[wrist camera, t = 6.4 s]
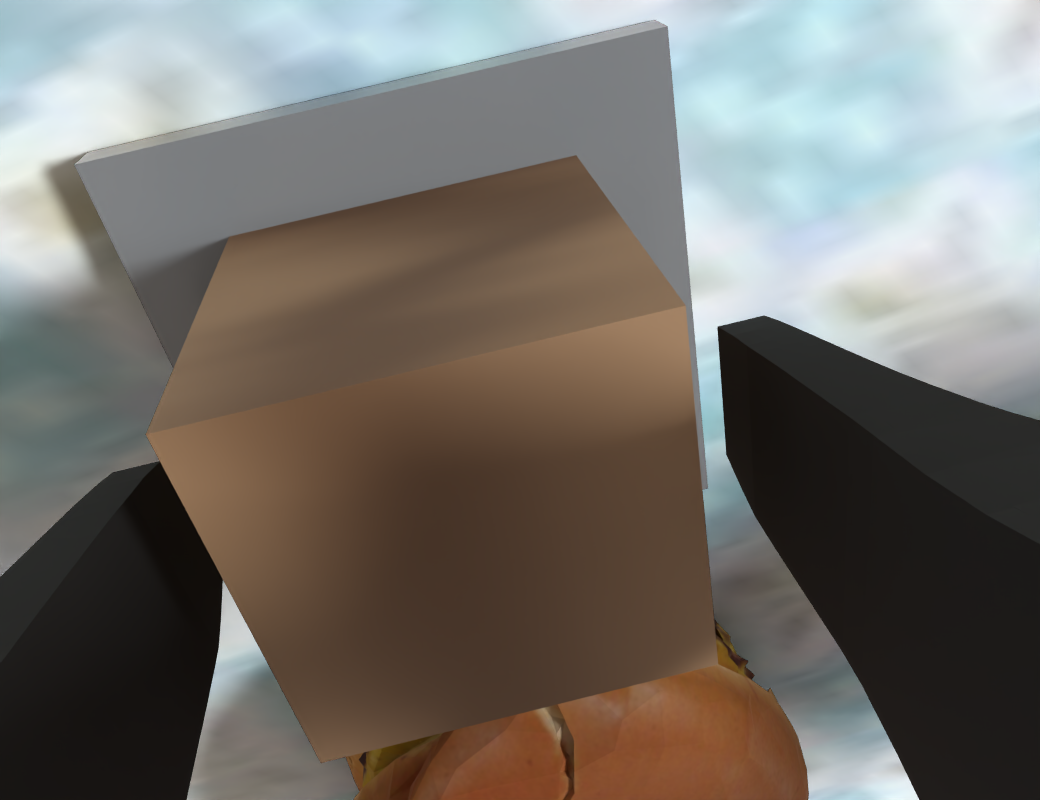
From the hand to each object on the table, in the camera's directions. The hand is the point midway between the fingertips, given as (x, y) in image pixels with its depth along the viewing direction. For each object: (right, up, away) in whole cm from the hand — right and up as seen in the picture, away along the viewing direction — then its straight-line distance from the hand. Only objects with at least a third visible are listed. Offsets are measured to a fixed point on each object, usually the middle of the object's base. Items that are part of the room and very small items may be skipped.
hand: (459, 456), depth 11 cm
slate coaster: (0, +2, +3) cm, 3 cm away
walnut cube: (0, +2, +2) cm, 3 cm away
